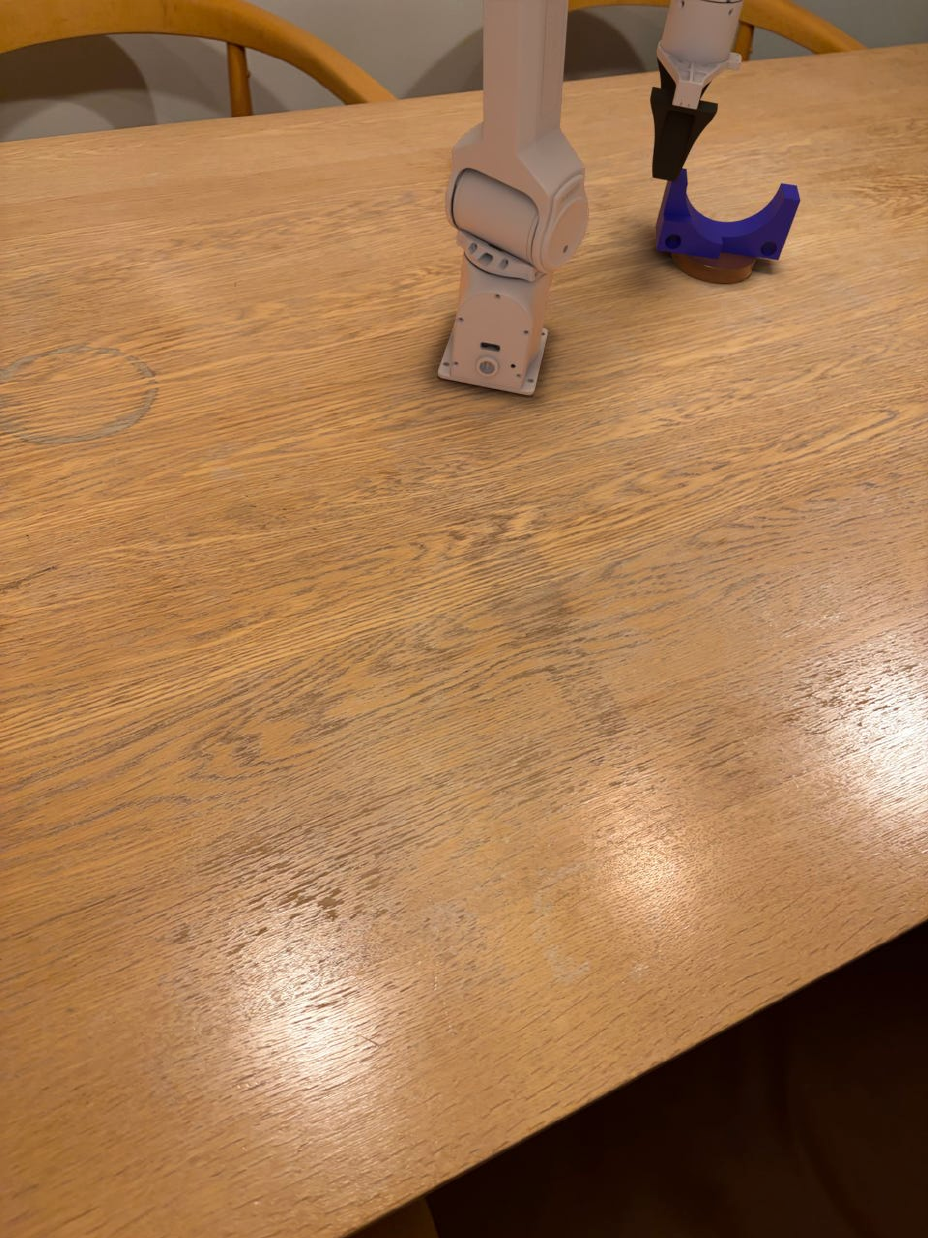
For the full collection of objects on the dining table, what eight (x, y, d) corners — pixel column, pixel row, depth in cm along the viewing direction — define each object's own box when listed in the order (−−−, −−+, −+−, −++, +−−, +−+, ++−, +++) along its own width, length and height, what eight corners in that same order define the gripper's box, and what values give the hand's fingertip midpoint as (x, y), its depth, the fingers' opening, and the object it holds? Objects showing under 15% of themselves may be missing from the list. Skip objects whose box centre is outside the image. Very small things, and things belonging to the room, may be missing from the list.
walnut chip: (751, 290, 94) (756, 275, 93) (669, 274, 95) (673, 259, 94) (751, 248, 100) (756, 235, 98) (673, 234, 100) (677, 220, 99)
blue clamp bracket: (656, 249, 94) (672, 188, 90) (655, 226, 97) (670, 166, 93) (779, 268, 95) (802, 208, 90) (775, 244, 97) (796, 185, 93)
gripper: (759, 30, 74) (707, 204, 85) (758, -29, 84) (712, 134, 94) (667, 13, 75) (626, 188, 85) (676, -44, 84) (639, 120, 94)
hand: (666, 159), depth 90 cm, fingers open, 7 cm apart
